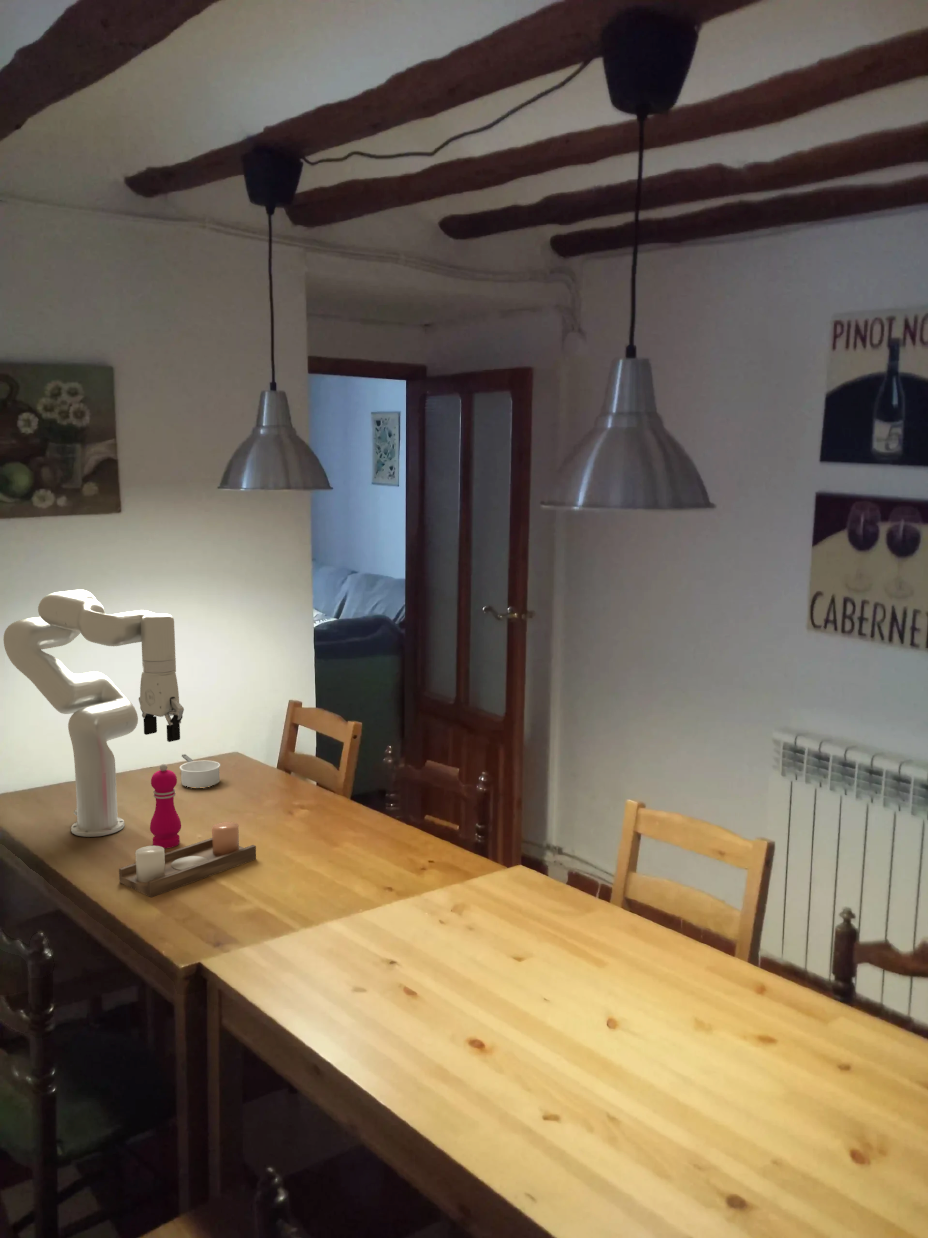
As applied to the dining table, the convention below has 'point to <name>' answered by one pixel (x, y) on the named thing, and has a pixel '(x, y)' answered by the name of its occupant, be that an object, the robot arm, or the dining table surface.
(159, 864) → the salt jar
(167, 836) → the pepper mill
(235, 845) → the pink pillar candle
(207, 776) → the saucepan
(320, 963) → the dining table surface
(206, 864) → the rail
